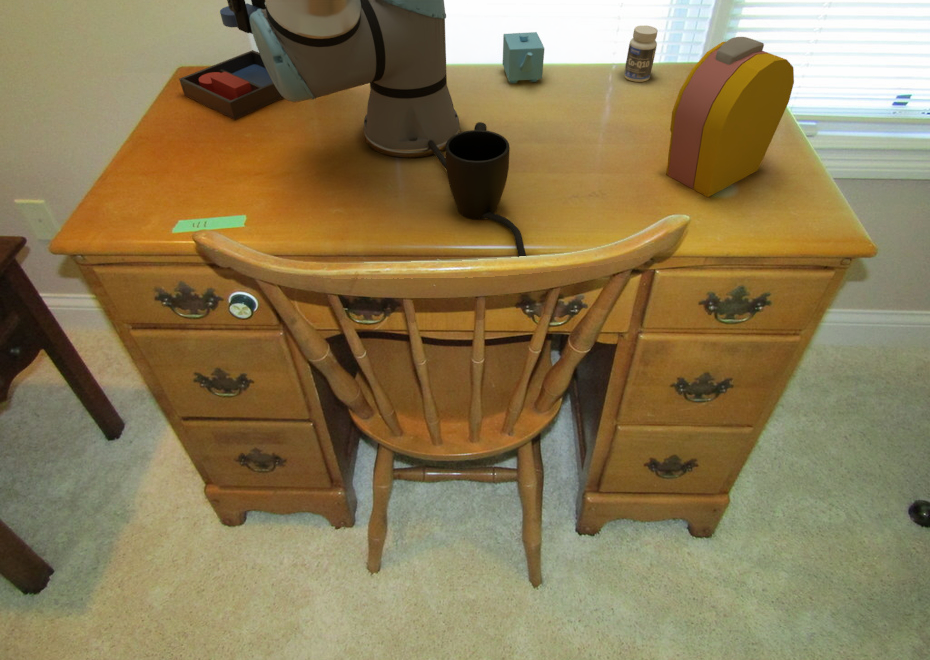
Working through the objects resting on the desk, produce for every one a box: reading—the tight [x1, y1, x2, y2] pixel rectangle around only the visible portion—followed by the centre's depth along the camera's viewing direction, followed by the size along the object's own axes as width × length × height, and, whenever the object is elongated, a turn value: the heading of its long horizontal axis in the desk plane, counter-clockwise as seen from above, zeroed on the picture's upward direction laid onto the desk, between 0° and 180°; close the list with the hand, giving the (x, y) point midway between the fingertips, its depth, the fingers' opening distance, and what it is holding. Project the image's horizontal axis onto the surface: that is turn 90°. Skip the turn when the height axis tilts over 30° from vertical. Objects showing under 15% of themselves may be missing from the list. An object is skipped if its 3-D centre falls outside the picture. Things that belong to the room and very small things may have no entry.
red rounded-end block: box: [199, 72, 252, 101], centre depth 109 cm, size 12×5×3 cm, turn 51°
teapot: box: [502, 31, 545, 84], centre depth 113 cm, size 12×6×8 cm, turn 6°
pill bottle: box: [623, 24, 659, 83], centre depth 112 cm, size 5×5×8 cm
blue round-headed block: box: [219, 2, 264, 35], centre depth 107 cm, size 12×5×3 cm, turn 51°
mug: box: [444, 121, 511, 221], centre depth 85 cm, size 8×12×10 cm
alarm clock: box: [665, 36, 795, 198], centre depth 86 cm, size 15×8×18 cm, turn 127°
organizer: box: [178, 49, 285, 120], centre depth 112 cm, size 15×16×3 cm
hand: (254, 27), depth 107 cm, fingers closed on blue round-headed block, 3 cm apart
